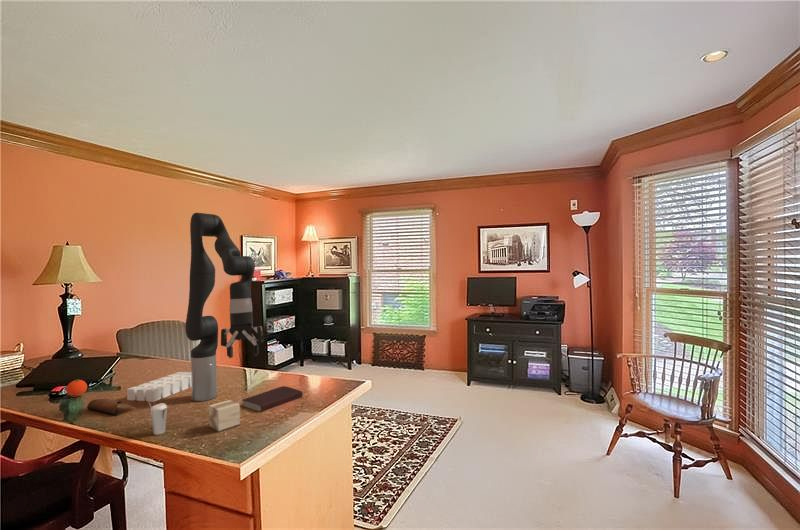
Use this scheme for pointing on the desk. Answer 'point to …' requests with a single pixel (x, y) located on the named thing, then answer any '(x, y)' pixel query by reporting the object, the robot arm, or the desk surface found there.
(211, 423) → the maple block
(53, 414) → the desk surface
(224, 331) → the robot arm
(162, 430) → the milkshake
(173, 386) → the organizer
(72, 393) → the clementine
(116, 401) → the sunglasses case
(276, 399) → the book
